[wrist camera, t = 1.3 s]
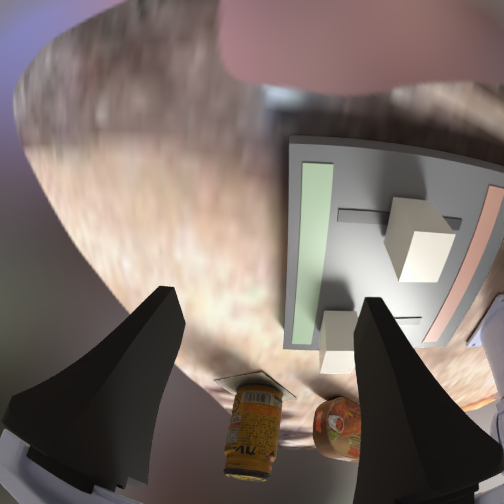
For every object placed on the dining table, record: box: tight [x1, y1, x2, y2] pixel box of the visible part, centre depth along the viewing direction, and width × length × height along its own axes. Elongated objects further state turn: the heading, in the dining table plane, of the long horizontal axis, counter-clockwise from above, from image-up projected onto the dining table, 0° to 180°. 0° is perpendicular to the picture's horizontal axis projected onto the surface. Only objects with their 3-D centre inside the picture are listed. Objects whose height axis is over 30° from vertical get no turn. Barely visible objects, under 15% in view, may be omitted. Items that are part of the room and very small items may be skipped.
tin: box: [313, 397, 361, 462], centre depth 31 cm, size 15×3×8 cm, turn 45°
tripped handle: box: [384, 197, 456, 282], centre depth 13 cm, size 2×3×4 cm
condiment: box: [214, 372, 297, 481], centre depth 29 cm, size 7×8×12 cm
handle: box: [319, 311, 358, 374], centre depth 19 cm, size 2×3×4 cm
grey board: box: [283, 135, 504, 350], centre depth 18 cm, size 16×17×2 cm
